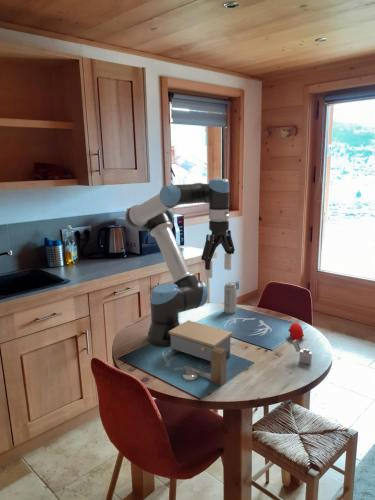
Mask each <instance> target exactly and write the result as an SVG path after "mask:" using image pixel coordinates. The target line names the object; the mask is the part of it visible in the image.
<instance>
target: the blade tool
mask: <svg viewBox="0 0 375 500" xmlns="http://www.w3.org/2000/svg"><path fill="white" fill-rule="evenodd" d="M183 370H184V371H185V372H188V371H193V372H195V373H197V376H200V377H203V378H206V379H207V380H210V383H211V384H213V385H218V386H220V387H221V386H223V385H224V384H225V383H226V382H227V357H226V349H223V348H220V347H217V346H216V347H215V348H213V349H212V350H211V361H210V373H208V372H206V371H204V370H201V369H198V368H195V367H193V366H190V365H187V364H185V365H183Z"/></svg>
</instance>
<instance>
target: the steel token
mask: <svg viewBox="0 0 375 500" xmlns="http://www.w3.org/2000/svg"><path fill="white" fill-rule="evenodd" d="M182 378H183V380H185V381H189V382H190V381H191V382H192V381H194V380H197V379H198V375H197V373H195V372H193V371H185V372H183V374H182Z"/></svg>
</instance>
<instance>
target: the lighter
mask: <svg viewBox="0 0 375 500" xmlns="http://www.w3.org/2000/svg"><path fill="white" fill-rule="evenodd" d="M292 344H293V347H294V349H295V352H299V361H298V362H299V363H302V364H305V365H311V364H312V358H313V352H312V351H310V349H308V348H305V347H304V348H303V349H302V348H301V346H300V343H299V340H298V341H297V340H292Z"/></svg>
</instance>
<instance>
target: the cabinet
mask: <svg viewBox="0 0 375 500" xmlns="http://www.w3.org/2000/svg"><path fill="white" fill-rule="evenodd" d="M169 334H171V345H170V355H172V356H174V355H176V354H177V353H179V352H181V353H185V354H189V355H190V356H194V357H197V358H200V359H204V360H205V361H209V362H211V350H212V349H213V348H215V347H216V346H217V347H220V348H223V349H226V358H231V336H233V332H232V331H228V330H226V329H220V328H217V327H214V326H211V325H207V324H204V323H203V324H202V323H199V322H195V321H191V320H189V319H188V320H186V321H185V322H183V323H181V324H180V325H179V326H177V327H175V328H174V329H172V330H170V331H169Z"/></svg>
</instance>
